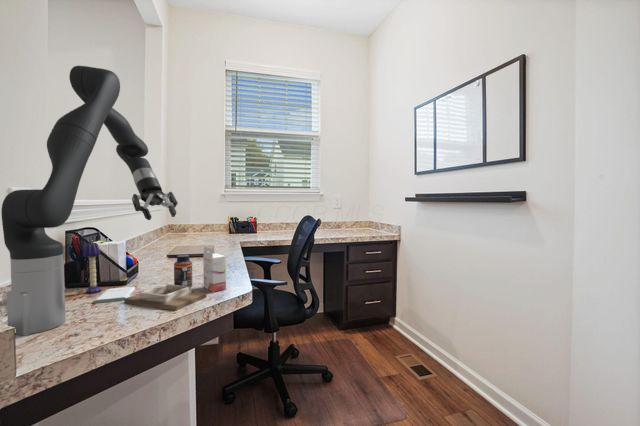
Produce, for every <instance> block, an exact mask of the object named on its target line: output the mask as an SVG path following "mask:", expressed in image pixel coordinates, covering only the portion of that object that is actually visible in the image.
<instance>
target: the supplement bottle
mask: <svg viewBox="0 0 640 426" xmlns="http://www.w3.org/2000/svg"><path fill="white" fill-rule="evenodd" d="M173 272H174V273H173V280H174V281H173V285H180V286H189V287H191V288H192V286H193V261H192V260H190V255H189V254H180V255H177V256H176V261H175V262H174V264H173Z"/></svg>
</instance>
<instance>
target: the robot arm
mask: <svg viewBox="0 0 640 426" xmlns="http://www.w3.org/2000/svg"><path fill="white" fill-rule="evenodd" d="M68 77H69V82H70V86H71V88H72V90H73V91H74V93H75V94H76V95H77V96H78V97H79V98H80V100H81V101H82V102H83V104H81V105H80V106H78V107H75V109H72V110H70V111H68V112H67V113H65V114H64V115H62V116H60V118H58V119H57V121H55V124H54V126H53V128H52V129H51V131H50V133H49V135H48V137H47V140H46V149H47V152H48V153H47V154H48V156H49V160H50V161H51V164H52V165H51V166H52V167H51V173H50V175H49V178H48V180H47V182H46V184H45V186H43V188H42V189H16V190H14V191H11V192H9V193H8V194H7V195H6V196H5V197H4V199H3V201H2V205H1V222H2V223H1V224H2V230H3V232H2V233H3V240H4V241H3V243H4V245H5V247H6V249H7V250H8V252H9V259H10V261H9V262H10V285H11V286H10V287H11V288H10V289H11V290H8V291H7V292H6V306H7V307H6V311H7V312H6V313H7V314H6V315H7V327H8V326H12V327H15V329H16V334H15V335H20V336H28V335H30V334H36V333H41V332H45V331H49V330H52V329H55V328H58V327H59V326H61V325H63V324H65V323H66V315H67V313H66V293H65V287H66V286H65V263H64V262H65V259H64V245H63V243H62V242H60V241H58V240H56V239H53V238H52V237H50V236H49V235H48V234H47V233H46V230H45V229H49V228H50V229H51V228H58V227H60V226H63V225H64V224H65V223H66V222H67V221H68V219H69V217H70V216H71V214H72V211H73V208H74V204H75V200H76V196H77V192H78V191H79V187H80V183H81V182H80V181H81V180H82V179H81V178H82V177H83V173H84V171H85V168H86V165H87V163H88V161H89V160H90V156H91V154H92V152H93V151H94V148H95V146H96V142H97V140H98V137H99V135H100V132H101V130H102V127H103V125H104V126H105V127H106V130H107V131H108V132H109V133H110V135H111V137H112V138H113V140H114V141H115V143H117V145H116V148H115V151H116V153H117V155H118V157H119V158H120V159H121V160H122V161H123V162H124V163H125V164H126V165H127V167H128V169H129V170H130V173H131V176H132V178H133V182H134V185H135V186H136V188H137V189H136V190H137V191H138V193H139V195H137V193H134V194H133V195H132V198H131V201H132V205H133V208H134V210H135V212H142V214H143V216H144V218H145V219H146V220H147V221H151V219H152V214H151V212H150V209H149V208H148V207H149V206H151V207H152V206H153V207H155V206H162V207H166V208H167V209H168V211H169V213H170V215H171V217H172V218H174V217H176V215H177V210H176V209H175V208H176V207H177V205H178V201H177V198H176V197H175V194H174V193H173V192H172V191H169V192H168V193H166V192H164V191H163V190H162V189H163V188H162V186H161V184H160V182H159V180H158V177H157V176H156V174H155V172H154V171H153V167H152V166H151V163H150V162H149V160H148V159H146V157H145V156H147V155H148V153H149V148H148V145H147V144H146V143H145V141H143V140H142V139H141V137H139V136H138V135H137V134H136V133H135V131H134V130H133V128H132V126H131V124H130V122H129V121H128V120H127V118H126V117H125V116H124V115H122V114H121V113H120V112H118V111H117V110H116V109H115V108H113V107H114V106H115V103H116V102H117V100H118V98H119V96H120V91H121V82H120V78H119V76H118V75H117V73H115V72H114V71H112V70H110V69H105V68H100V67H98V68H97V67H92V66H86V65H75V66H73V67H72V68H71V69H70V71H69V76H68ZM144 157H145V158H144ZM140 200H141V201H143V202H144V204H143V205H141V203H140Z"/></svg>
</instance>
